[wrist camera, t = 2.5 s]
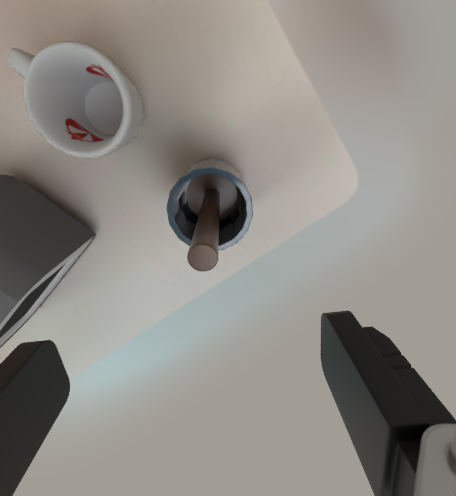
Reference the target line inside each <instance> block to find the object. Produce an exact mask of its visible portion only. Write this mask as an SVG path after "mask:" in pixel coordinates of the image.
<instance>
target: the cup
mask: <svg viewBox="0 0 456 496" xmlns="http://www.w3.org/2000/svg"><path fill="white" fill-rule="evenodd" d="M7 63H8V65H9V66H10V67H11V68H12V69H13V70H14V71H16V72H17V73H19V74H20V75H22V76H23V77H25V78H24V87H23V91H24V101H25V105H26V109H27V112H28V114H29V117H30V119H31V121H32V123H33V124H34V126H35V128H36V129H37V130H38V132H39V133H40V134H41V135H42V136H43V137H44V139H45V140H46V141H48V142H49V143H50V144H51V145H52V146H54V147H55V148H57V149H58V150H60V151H62V152H64V153H66V154H69V155H72V156H75V157H80V158H96V157H100V156H103V155H106V154H108V153H110V152H112V151H114V150H116V149H118V148H119V147H121V146H123V145H125V144H127V143H128V142H130V141H131V140H132V139H134V138H135V136H136V135H137V134H138V132H139V131H140V129H141V126H142V123H143V118H144V108H143V103H142V100H141V97H140V94H139V93H138V91H137V89H136V87H135V86H134V85H133V83H132V82H131V81H130V80H129V79H128V78H127V77H126V76H125V75H124V74H123V73H122V72H121V71H120V70H119V68H118V67H117V66H116V65H115V64H114V63H113V62H112V61H111V60H110V59H109V58H108V57H106V56H105V55H104V54H102V53H101V52H100V51H98V50H96V49H95V48H92V47H90V46H88V45H85V44H82V43H78V42H66V41H65V42H58V43H54V44H51V45H49V46H47V47H45V48H44V49H42V50H41V51H40V52H39V53H37V54H36V55H35V56H33V55H31V54H29V53H27V52H25V51H23V50H20V49H17V48H12V49H11V50H10V51H9V53H8V57H7Z"/></svg>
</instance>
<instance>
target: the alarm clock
mask: <svg viewBox="0 0 456 496" xmlns="http://www.w3.org/2000/svg"><path fill="white" fill-rule="evenodd" d="M95 236H96V234H94V233H93V232H92V231H90V230H89V229H88V228H86V227H85V226H84V225H82V224H81V223H80V222H78V221H77V220H76V219H74V218H73V217H71V216H70V215H69V214H67V213H66V212H65V211H63V210H62V209H61V208H59V207H58V206H57V205H55V204H54V203H53V202H51V201H50V200H49V199H47V198H46V197H45V196H43V195H42V194H41V193H39V192H38V191H37V190H35V189H34V188H33V187H31V186H30V185H29V184H27V183H26V182H24V181H22V180H20V179H17V178H15V177H13V176H7V175H0V348H1V347H2V346H3V345H4V344H5V343H6V342H7V341H8V340H9V339H10V338H11V337H12V336H13V335H14V334H15V333H16V332H17V331H18V330H19V329H20V328H21V327H22V326H23V325H24V324H25V323H26V322H27V321H28V320H29V319H30V318H31V316H32V315H33V314H34V313H35V312H36V311H37V310H38V308H39V307H40V306H41V305H42V304H43V302H44V301H45V300H46V299H47V297H48V296H49V295H50V294H51V292H52V291H53V290H54V289H55V287H56V286H57V285H58V284H59V282H60V281H61V280H62V279H63V277H64V276H65V275H66V274H67V272H68V271H69V270H70V269H71V267H72V266H73V265H74V264H75V262H76V261H77V260H78V259H79V257H80V256H81V255H82V254H83V252H84V251H85V250H86V249H87V247H88V246H89V245H90V244H91V242H92V241H93V240H94V238H95Z"/></svg>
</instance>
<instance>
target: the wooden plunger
mask: <svg viewBox="0 0 456 496" xmlns="http://www.w3.org/2000/svg"><path fill="white" fill-rule="evenodd" d="M237 201H238V192H237V187H236V185H235V184H234V183H232V182H231V181H230V180H229V179H228V178H225V177H221V176H218V175H215V174H207V175H198V176H196V177H194V178H193V179H192V180H191V182H190V184H189V186H188V189H187V202H188V205H189V207H190V209H191V211H192V212H193V213H194V214H195V215H196V216H197V217H198V220H197V223H196V227H195V230H194V234H193V237H192V241H191V244H190V248H189V252H188V257H187V258H188V262H189V264H190V265H191V267H193V268H194V269H195V270H198V271H208V270H211V269H212V268H213V267H214V266H215V265H216V264H217V261H218V244H219V220H222V219H225V218H226V217H228V216H229V215H230V214H231V213H232V212H233V210H234V209H235V207H236V205H237Z"/></svg>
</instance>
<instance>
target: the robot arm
mask: <svg viewBox="0 0 456 496" xmlns="http://www.w3.org/2000/svg"><path fill="white" fill-rule="evenodd" d="M321 362H322V368H323V372H324V375H325V378H326V381H327V383H328V385H329V387H330V390H331V392H332V395H333V397H334V399H335V402H336V404H337V407H338V409H339V411H340V414H341V416H342V419H343V421H344V423H345V426H346V428H347V430H348V433H349V435H350V438H351V440H352V442H353V445H354V447H355V450H356V452H357V454H358V457H359V459H360V462H361V464H362V466H363V469H364V471H365V473H366V476H367V478H368V481H369V483H370V485H371V488H372V490H373V492H374V495H375V496H456V420H455V419H454V417H453V416H452V415H451V414H450V413H449V411H448V410H447V409H446V408H445V406H444V405H443V404H442V403H441V401H440V400H439V399H438V398H437V396H436V395H435V394H434V393H433V392H432V390H431V389H430V388H429V387H428V385H427V384H426V383H425V382H424V380H423V379H422V378H421V377H420V376H419V374H418V373H417V372H416V371H415V369H414V368H411V364H410V363H409V362H408V361H407V359H406V358H405V357H404V356H403V355H401V352H400V351H399V350H398V348H397V347H396V346H395V345H394V343H393V342H392V341H391V340H390V338H388V337H387V336H385V335H384V334H382V333H381V332H379V331H378V330H376V329H375V328H373V327H363V328H362V327H361V325H360V324H359V322H358V321H357V320H356V318H355V317H354V315H353V314H352V313H351V312H350V311H341V312H331V313H323V314H322V316H321ZM69 391H70V382H69V378H68V375H67V373H66V370H65V368H64V365H63V363H62V360H61V358H60V355H59V352H58V350H57V347H56V345H55V344H54V342H52V341H50V340H46V341H36V342H26V343H21V344H20V345H18V346H17V347H16V348H15V349H14V350H13V351H12V352H11V353H10V355H9V356H8V357H7V358H6V359H5V360H4V361H3V362H2V363H1V364H0V496H12V495H13V493H14V492H15V490H16V488H17V486H18V485H19V483H20V481H21V479H22V478H23V476H24V474H25V472H26V471H27V469H28V467H29V466H30V464H31V462H32V460H33V459H34V457H35V455H36V453H37V451H38V450H39V448H40V446H41V445H42V443H43V441H44V439H45V438H46V436H47V434H48V433H49V431H50V429H51V427H52V426H53V424H54V422H55V420H56V419H57V417H58V415H59V413H60V412H61V410H62V408H63V407H64V405H65V403H66V401H67V398H68V396H69Z"/></svg>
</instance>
